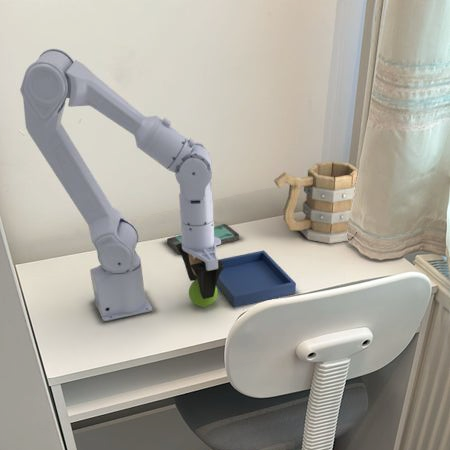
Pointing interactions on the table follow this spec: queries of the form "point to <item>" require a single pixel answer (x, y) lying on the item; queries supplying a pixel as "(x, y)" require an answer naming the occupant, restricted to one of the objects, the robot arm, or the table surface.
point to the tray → (253, 279)
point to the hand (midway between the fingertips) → (201, 288)
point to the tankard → (321, 201)
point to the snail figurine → (195, 290)
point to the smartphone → (220, 231)
